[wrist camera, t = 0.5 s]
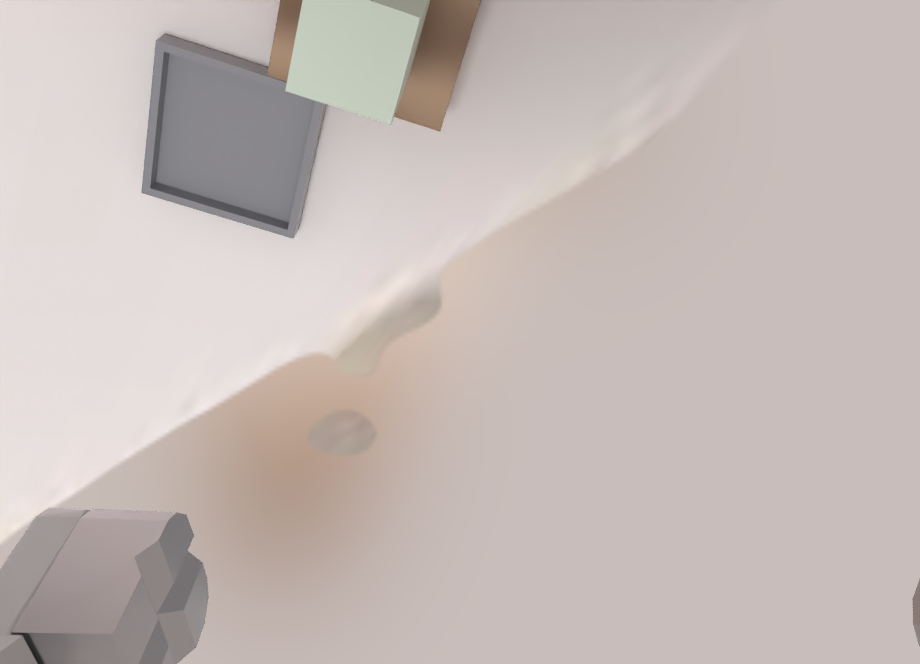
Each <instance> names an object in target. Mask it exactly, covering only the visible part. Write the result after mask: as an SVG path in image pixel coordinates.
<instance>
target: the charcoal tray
mask: <svg viewBox="0 0 920 664" xmlns="http://www.w3.org/2000/svg"><path fill="white" fill-rule="evenodd" d="M267 74H268V67H265V66H262V65H259V64H256V63H253V62H250V61H247V60H244V59H241V58H238V57H235V56H232V55H229V54H226V53H223V52H219V51H216V50H213V49H210V48H207V47H204V46H201V45H198V44H195V43H192V42H189V41H186V40H183V39H180V38H177V37H174V36H171V35H168V34H165V35H163V36H162V37H160V38H159V39H157V40H156V46H155V57H154V67H153V78H152V88H151V99H150V109H149V120H148V130H147V141H146V152H145V162H144V173H143V183H142V193H144V194H147V195H150V196H154V197H157V198H160V199H164V200H167V201H170V202H174V203H177V204H180V205H184V206H187V207H190V208H193V209H197V210H200V211H203V212H207V213H210V214H213V215H217V216H220V217H223V218H227V219H230V220H233V221H237V222H240V223H243V224H247V225H250V226H253V227H256V228H260V229H263V230H266V231H270V232H273V233H276V234H280V235H283V236H286V237H290V238H293V239H294V237H295V235H296V233H297V231H298V229H299V225H300V220H301V216H302V211H303V207H304V202H305V198H306V193H307V189H308V184H309V180H310V175H311V171H312V166H313V162H314V157H315V153H316V149H317V144H318V140H319V135H320V131H321V126H322V122H323V117H324V113H325V108H326V104H324V103H321V102H318V101H315V100H311V99H308V98H305V97H302V96H299V95H296V94H293V93H290V92H287V91H285V90H286V84H287V81H284V80H281V79H277V78H274V77H271V76H268V75H267Z"/></svg>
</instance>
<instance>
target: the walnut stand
mask: <svg viewBox="0 0 920 664" xmlns="http://www.w3.org/2000/svg"><path fill="white" fill-rule="evenodd" d="M302 1H303V0H280V6H279V12H278V17H277V23H276V29H275V34H274V40H273V46H272V51H271V57H270V63H269V68H268V74H267V75H268V76H271V77H274V78H277V79H281V80H284V81H287V79H288V74H289V69H290V63H291V58H292V53H293V48H294V43H295V37H296V32H297V27H298V22H299V16H300V11H301V6H302ZM480 2H481V0H430V3H429V7H428V11H427V14H426V18H425V21H424V25H423V29H422V32H421V36H420V39H419V43H418V47H417V50H416V54H415V57H414V61H413V65H412V68H411V72H410V75H409V78H408V81H407V83H406V86H405V89H404V91H403V94H402V96H401V99H400V102H399V104H398V107H397V110H396V112H395V115H394V117H397V118H400V119H403V120H406V121H409V122H412V123H415V124H419V125H422V126H425V127H428V128H431V129H434V130H437V131H440V130H441V127H442V123H443V120H444V117H445V114H446V111H447V107H448V104H449V101H450V98H451V95H452V91H453V88H454V85H455V82H456V79H457V75H458V72H459V69H460V66H461V63H462V59H463V56H464V53H465V50H466V47H467V43H468V40H469V37H470V34H471V31H472V27H473V24H474V21H475V18H476V15H477V11H478V8H479V5H480Z"/></svg>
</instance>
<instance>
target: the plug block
mask: <svg viewBox="0 0 920 664" xmlns="http://www.w3.org/2000/svg"><path fill="white" fill-rule="evenodd" d="M429 3H430V0H303V1H302V6H301V11H300V16H299V22H298V27H297V32H296V37H295V43H294V48H293V53H292V58H291V63H290V69H289V74H288V79H287V84H286V90H285V91H287V92H290V93H293V94H296V95H299V96H302V97H305V98H308V99H311V100H315V101H318V102H321V103H324V104H327V105H330V106H333V107H336V108H339V109H342V110H345V111H348V112H352V113H355V114H358V115H361V116H364V117H367V118H370V119H373V120H376V121H379V122H382V123H385V124H388V125H391V123H392V120H393V118H394V115H395V112H396V110H397V107H398V104H399V102H400V99H401V96H402V94H403V91H404V89H405V86H406V83H407V81H408V78H409V75H410V72H411V68H412V65H413V61H414V57H415V54H416V50H417V47H418V43H419V39H420V36H421V32H422V29H423V25H424V21H425V18H426V14H427V11H428V7H429Z"/></svg>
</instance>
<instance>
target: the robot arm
mask: <svg viewBox="0 0 920 664" xmlns="http://www.w3.org/2000/svg"><path fill="white" fill-rule="evenodd" d="M193 537H194V534H193V531H192V529H191V526H190V524H189V521H188V518H187V515H185V514H181V513H177V512H155V511H131V510H106V509H92V510H91V509H65V508H48V509H47V510H45V511H44V512H42V513H41V514H39V515H38V516H36V517H35V518H34V520H33V521H32V523H31V524H30V526H29V527H28V529H27V530H26V531H25V533H24V534H23V536H22V537H21V539H20V540H19V542H18V543H17V545H16V546H15V548H14V549H13V551H12V552H11V554H10V555H9V557H8V558H7V560H6V561H5V563H4V564H3V565H2V567H1V568H0V664H177V663H178V662H179V661H180V660H182V659H183V658H184V657H185V656H186V655H187V654H189V653H190V652H191V651H192V650H193V649H194V648H196V646H197V643H198V641H199V638H200V635H201V632H202V629H203V626H204V623H205V617H206V610H207V603H208V584H207V576H206V573H205V569H204V566H203V563H202V562H201V561H200V560H198V559H197V558H196V557H195V556H193V555H192V554H191V553H190V552H188V548H189V546H190V544H191V541H192V539H193ZM913 625H914V629H915V632H916V636H917V639H918V643H919V646H920V580H919V583H918V586H917V588H916V591H915V594H914V597H913Z"/></svg>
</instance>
